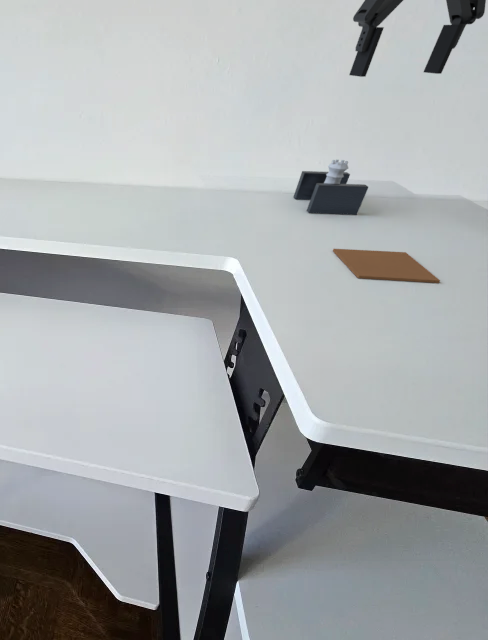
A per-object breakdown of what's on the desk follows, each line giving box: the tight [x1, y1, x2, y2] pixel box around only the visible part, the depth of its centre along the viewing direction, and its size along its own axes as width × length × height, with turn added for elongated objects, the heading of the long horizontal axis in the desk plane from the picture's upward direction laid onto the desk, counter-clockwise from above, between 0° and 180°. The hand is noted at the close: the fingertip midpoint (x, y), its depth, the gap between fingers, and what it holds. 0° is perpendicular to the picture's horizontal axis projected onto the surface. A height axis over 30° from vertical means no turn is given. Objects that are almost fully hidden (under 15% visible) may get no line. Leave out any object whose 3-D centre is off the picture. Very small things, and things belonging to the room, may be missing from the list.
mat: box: [332, 248, 441, 284], centre depth 72 cm, size 10×10×1 cm
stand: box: [293, 170, 369, 216], centre depth 93 cm, size 8×10×5 cm
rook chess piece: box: [324, 159, 349, 184], centre depth 92 cm, size 4×4×8 cm
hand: (394, 74), depth 81 cm, fingers open, 13 cm apart
